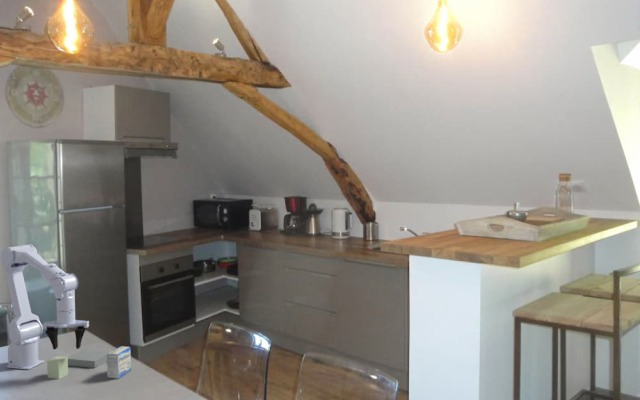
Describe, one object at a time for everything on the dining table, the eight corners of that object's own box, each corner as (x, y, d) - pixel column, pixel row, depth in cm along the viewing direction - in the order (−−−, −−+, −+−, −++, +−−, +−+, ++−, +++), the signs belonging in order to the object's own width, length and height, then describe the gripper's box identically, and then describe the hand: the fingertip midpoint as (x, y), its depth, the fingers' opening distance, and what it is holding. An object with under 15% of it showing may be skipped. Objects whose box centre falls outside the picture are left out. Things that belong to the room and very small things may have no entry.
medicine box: (118, 379, 178) (118, 354, 178) (106, 378, 179) (106, 353, 179) (131, 370, 186) (130, 346, 185) (120, 369, 187) (119, 345, 186)
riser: (66, 365, 191) (65, 358, 191) (84, 355, 201) (84, 349, 200) (94, 368, 188) (94, 361, 188) (111, 358, 198) (111, 351, 198)
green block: (47, 377, 179) (47, 360, 179) (57, 372, 184) (56, 356, 184) (59, 379, 178) (58, 361, 178) (68, 374, 183) (67, 357, 182)
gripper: (39, 313, 176) (40, 352, 177) (83, 312, 178) (84, 351, 178) (47, 307, 183) (48, 345, 184) (90, 306, 185) (91, 344, 185)
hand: (66, 348), depth 182 cm, fingers open, 7 cm apart
